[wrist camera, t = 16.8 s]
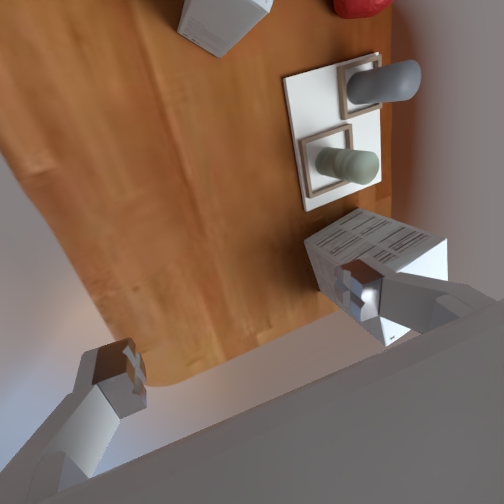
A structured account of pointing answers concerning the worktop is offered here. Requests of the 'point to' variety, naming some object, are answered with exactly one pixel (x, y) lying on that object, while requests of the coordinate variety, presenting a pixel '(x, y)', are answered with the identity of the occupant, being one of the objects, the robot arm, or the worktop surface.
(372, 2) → the pomegranate
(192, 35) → the skincare box
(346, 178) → the sage pin
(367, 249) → the supplement box
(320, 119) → the board
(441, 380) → the robot arm
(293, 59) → the worktop surface
